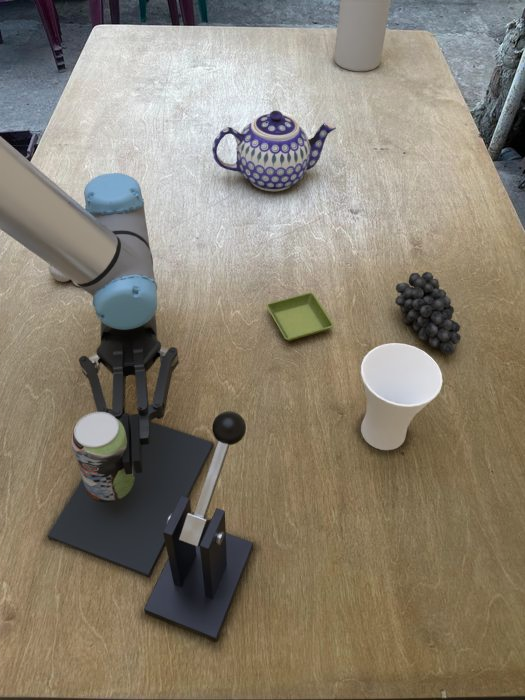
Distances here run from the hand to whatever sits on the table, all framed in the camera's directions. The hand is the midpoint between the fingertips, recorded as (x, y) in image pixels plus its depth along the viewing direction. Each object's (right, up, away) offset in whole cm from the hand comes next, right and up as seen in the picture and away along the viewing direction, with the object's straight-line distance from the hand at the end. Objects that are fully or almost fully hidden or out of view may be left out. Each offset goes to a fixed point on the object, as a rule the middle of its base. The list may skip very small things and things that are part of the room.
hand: (132, 467), depth 72 cm
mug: (-18, +28, +39) cm, 51 cm away
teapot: (+17, +50, +60) cm, 79 cm away
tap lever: (+10, 0, -4) cm, 11 cm away
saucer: (+21, +18, +32) cm, 43 cm away
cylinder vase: (+40, +91, +96) cm, 139 cm away
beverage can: (-3, -4, +7) cm, 8 cm away
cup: (+32, +2, +19) cm, 38 cm away
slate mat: (-2, -5, +11) cm, 13 cm away
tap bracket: (+8, -14, +4) cm, 17 cm away
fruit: (+42, +16, +32) cm, 55 cm away
